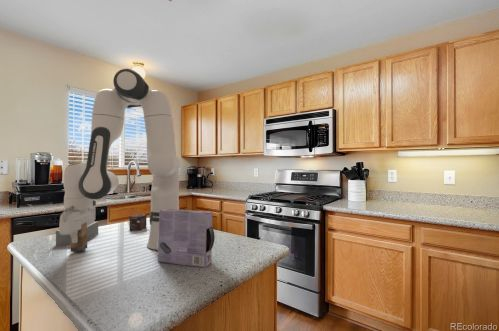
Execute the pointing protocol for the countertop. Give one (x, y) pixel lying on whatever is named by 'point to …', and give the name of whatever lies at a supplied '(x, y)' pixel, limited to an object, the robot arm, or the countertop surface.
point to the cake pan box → (185, 237)
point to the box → (137, 222)
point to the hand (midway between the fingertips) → (79, 240)
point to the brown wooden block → (80, 239)
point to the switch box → (65, 239)
